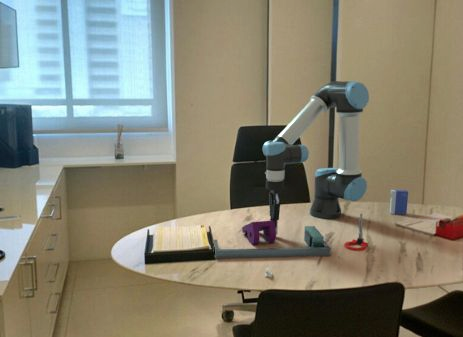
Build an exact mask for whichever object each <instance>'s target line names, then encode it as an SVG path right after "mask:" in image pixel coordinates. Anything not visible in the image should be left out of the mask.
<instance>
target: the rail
mask: <svg viewBox="0 0 463 337" xmlns="http://www.w3.org/2000/svg"><path fill="white" fill-rule="evenodd" d="M303 231H304V235H303V240H304V242H305V244H306V245H307V247H277V248H276V247H272V248H270V247H267V248H224V249H223V248H222V249H221V248H220V247H219V243H218V239H212V244H213V243H214V247H215V255H214V259H215V258H216V259H217V260H218V259H254V258H255V259H256V258H262V259H263V258H297V257H298V258H299V257H302V258H303V257H304V258H305V257H307V258H308V257H330V256H331V247H330V245H328V244H327V242H326V241H325V240H324V239H325V238H324V236H323V234H322V233H321V232H320V231H319V230H318V228H316V226H315V225H304V230H303ZM216 259H215V260H216Z"/></svg>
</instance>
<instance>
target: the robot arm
mask: <svg viewBox="0 0 463 337" xmlns="http://www.w3.org/2000/svg"><path fill="white" fill-rule="evenodd" d="M369 101H370V92H369V90H368V88H367V86H366V85H365V84H364V83H362V82H360V81H354V80H352V81H351V80H350V81H348V80H347V81H346V80H345V81H341V80H339V81H338V80H335V81H330V82H328V83H327V84H324V85H323V86H322V87H321V88H319V89H318V90H317V91H316V92H315V93H314V94H313V95H312V96H311V97H310V98H309V102H308V103H307V104H305V106H304V107H303V108H302V109H301V110H300V112H299V113H297V115H296V116H295V117H293V119H292V120H291V121H290V122H289V123H288V124H287V126H285V128H284V129H283V130H282V131H280V133H278V135H277V136H276V137H275V138H273V140H268V141H265V142H264V144H263V145H262V149H261V150H262V152H263V155H264V156H265V157H266V158H265V160H266V162H265V164H266V171H265V172H264V174H265V178H266V180H265V189H266V190H267V191H268V190H269V191H270V192H268V197H269V216H270V219H269V221H273V220H274V222H275V229H276V236H278V229H279V228H278V227H279V226H278V225H279V223H278V221H279V220H280V210H281V202H282V199H281V193H280V191H282V190H284V189H285V175H286V173H285V172H286V170H285V169H286V168H285V166H286V165H291V164H301V163H305V162H307V160H308V159H309V149H308V147H307V145H304V144H294V143H295V142H296V141H298V139H299V138H300V137H301V136H302V135H303V134H304V132H306V130H308V129H309V127H310V126H311V125H312V124H313V123H314V122H315V121H316V120H317V119H318V118H319V117H320V115H322V114H323V113H326V112H327V111H328V110H329V109H331V108H335V109H336V110H335V112H336V114H337V115H338V116H339V143H338V144H339V146H338V148H339V152H338V153H339V154H338V157H339V158H338V167H324V168H317V169H316V171H315V176H314V196H313V197H314V199H313V201H312V204H311V206H310V208H309V209H310V210H309V215H310V216H312V217H314V218H315V217H316V218H321V219H337V218H340V217H341V216H342V209H341V203H340V201H339V199H341V200H345V201H349V202H357V201H360V200H361V199H362V198H363V197H364V195H365V194H366V192H367V189H368V188H367V187H368V183H367V180H366V179H365V178H364V177H362V175H363V174H362V173H363V172H362V170H361V169H360V168H359V153H360V152H359V151H360V150H359V149H360V147H359V146H360V145H359V144H360V116H361V115H362V114H363V112H364V108H366V107H367V106H368V103H369Z"/></svg>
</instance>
